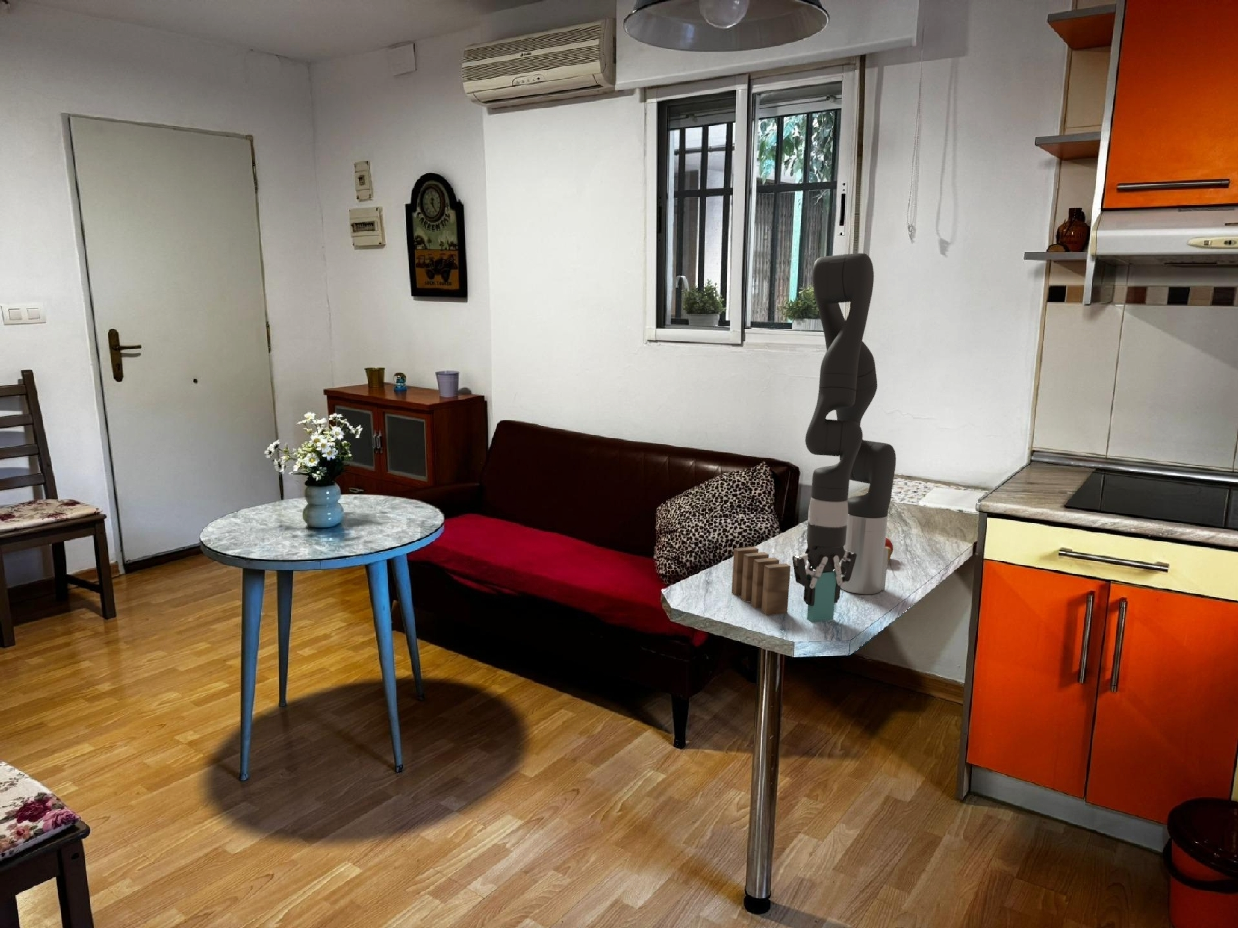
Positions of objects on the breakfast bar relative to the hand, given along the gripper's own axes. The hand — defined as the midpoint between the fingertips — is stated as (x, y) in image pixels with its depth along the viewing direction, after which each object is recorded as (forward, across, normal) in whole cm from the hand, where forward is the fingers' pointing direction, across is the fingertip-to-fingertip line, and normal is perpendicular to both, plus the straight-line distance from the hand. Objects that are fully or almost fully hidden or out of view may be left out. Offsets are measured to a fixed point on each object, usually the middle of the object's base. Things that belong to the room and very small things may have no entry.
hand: (821, 602), depth 170 cm
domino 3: (+3, +7, -10) cm, 13 cm away
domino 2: (+3, +7, -14) cm, 16 cm away
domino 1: (+3, +7, -18) cm, 20 cm away
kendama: (+4, -34, -29) cm, 45 cm away
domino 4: (+3, +7, -6) cm, 10 cm away
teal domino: (+3, 0, 0) cm, 3 cm away
